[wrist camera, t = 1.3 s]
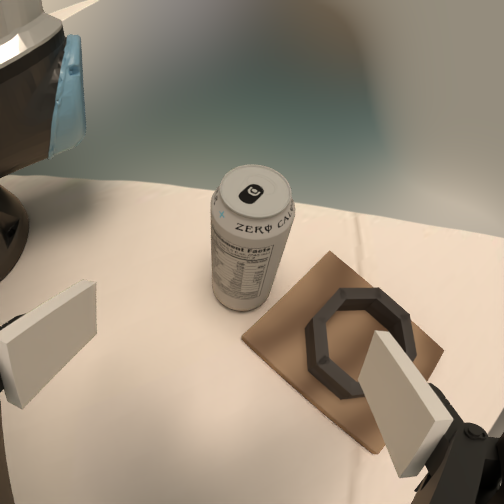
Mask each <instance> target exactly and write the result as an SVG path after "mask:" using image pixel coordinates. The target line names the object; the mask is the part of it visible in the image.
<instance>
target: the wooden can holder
mask: <svg viewBox="0 0 504 504" xmlns="http://www.w3.org/2000/svg"><path fill="white" fill-rule="evenodd" d="M375 330H377V331H386V332H390V334H391V335H392V336H393V338H394V339H395V340H396V341H397V343H398V344H399V345H400V347H401V348H402V349H403V351H404V352H405V353H406V355H407V356H408V357H409V358H410V360H411V361H412V362H413V364H414V365H415V366H416V368H417V369H418V370H419V372H420V373H421V375H422V376H423V377H424V379H425V380H426V381H428V379H429V377H430V376H431V374H432V372H433V370H434V369H435V367H436V365H437V363H438V361H439V359H440V358H441V356H442V354H443V352H444V350H443V349H442V348H441V347H440V346H439V345H438V344H437V343H436V342H435V341H433V340H432V339H431V338H430V337H429V336H428V335H427V334H426V333H425V332H424V331H422V330H421V329H420V328H419V327H418V326H417V325H416V324H415V323H414V322H412V321H411V319H410V314H409V313H407V312H406V311H405V310H404V309H403V308H402V307H401V306H399V305H398V304H397V303H396V302H395V301H394V300H393V299H391V298H390V297H389V296H388V295H387V294H386V293H385V292H383V291H382V290H381V289H380V288H379V287H378V288H374V287H372V286H371V285H370V284H369V283H368V282H367V281H365V280H364V279H363V278H362V277H361V276H360V275H358V274H357V273H356V272H355V271H354V270H352V269H351V268H350V267H349V266H348V265H346V264H345V263H344V262H343V261H342V260H340V259H339V258H338V257H337V256H336V255H334V254H333V253H332V252H331V251H329V252H328V253H327V254H326V255H325V256H324V257H323V258H322V259H321V260H320V261H319V262H318V263H317V264H316V265H315V266H314V267H313V268H312V269H311V270H310V271H309V272H308V273H307V274H306V275H305V276H304V277H303V278H302V279H301V280H300V281H299V282H298V283H297V284H296V285H295V286H294V287H293V288H292V289H291V290H290V291H289V292H288V293H286V294H285V295H284V296H283V297H282V298H281V299H280V300H279V301H278V302H277V303H276V304H275V305H274V306H273V307H272V308H271V309H270V310H269V311H268V312H267V313H266V314H265V315H264V316H263V317H261V318H260V319H259V320H258V321H257V322H256V323H255V324H254V325H253V326H252V327H251V328H250V329H249V330H248V331H247V332H246V333H244V334H243V335H242V338H241V339H242V340H243V341H244V342H245V343H246V344H247V345H248V346H249V347H250V348H251V349H252V350H253V351H254V352H255V353H256V354H257V355H259V356H260V357H261V358H262V359H263V360H264V361H265V362H266V363H267V364H268V365H269V366H270V367H271V368H273V369H274V370H275V371H276V372H277V373H278V374H279V375H280V376H281V377H282V378H284V379H285V380H286V381H287V382H288V383H289V384H290V385H291V386H292V387H294V388H295V389H296V390H297V391H298V392H299V393H300V394H302V395H303V396H304V397H305V398H306V399H307V400H308V401H310V402H311V403H312V404H313V405H314V406H315V407H316V408H318V409H319V410H320V411H321V412H322V413H324V414H325V415H326V416H327V417H328V418H329V419H331V420H332V421H333V422H334V423H335V424H337V425H338V426H339V427H340V428H341V429H343V430H344V431H345V432H346V433H347V434H349V435H350V436H351V437H352V438H354V439H355V440H356V441H357V442H359V443H360V444H361V445H362V446H364V447H365V448H366V449H367V450H369V451H370V452H371V453H372V454H379V453H380V451H381V450H382V449H383V447H384V446H385V445H386V444H385V442H384V440H383V437H382V435H381V432H380V430H379V428H378V425H377V423H376V420H375V418H374V416H373V413H372V411H371V409H370V406H369V404H368V402H367V399H366V397H365V395H364V392H363V390H362V388H361V385H360V383H359V381H358V378H359V375H360V372H361V369H362V367H363V364H364V361H365V358H366V355H367V352H368V349H369V347H370V344H371V341H372V337H373V334H374V331H375Z"/></svg>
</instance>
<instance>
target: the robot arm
mask: <svg viewBox="0 0 504 504" xmlns="http://www.w3.org/2000/svg"><path fill="white" fill-rule="evenodd" d="M82 69H83V68H82V49H81V37H80V36H78V35H72V34H70V35H68V36H67V37H65V36H64V31H63V25H62V21H61V20H60V19H57V18H55V17H53V16H51V15H48V14H46V13H45V12H44V10H43V7H42V1H41V0H0V178H2V177H4V176H6V175H8V174H10V173H13V172H15V171H17V170H19V169H22V168H24V167H26V166H29V165H31V164H34V163H36V162H38V161H41V160H44V159H46V158H48V160H50V159H52V158H53V156H54V155H57V154H59V153H61V152H64V151H66V150H69V149H71V148H74V147H75V146H77V145H78V144H79V143H81V141H82V140H83V138H84V136H85V133H86V117H85V116H86V115H85V102H84V88H83V70H82ZM28 231H29V219H28V215H27V212H26V210H25V209H24V207H23V205H22V204H21V202H20V201H19V199H18V198H17V197H16V196H15V195H14V194H12V193H11V192H9V191H8V190H7V189H5V188H4V187H3V186H1V185H0V280H2V279H3V278H4V277H5V276H6V275H7V274H8V272H9V271H10V270H11V269H12V268H13V266H14V265H15V263H16V262H17V260H18V259H19V257H20V255H21V253H22V251H23V249H24V246H25V243H26V240H27V236H28ZM96 334H97V323H96V282H92V281H88V280H84V279H82V280H81V281H79V282H77V283H76V284H74V285H72V286H71V287H69V288H67V289H66V290H64V291H62V292H61V293H59V294H57V295H56V296H54V297H52V298H51V299H49V300H48V301H46V302H44V303H43V304H41V305H39V306H38V307H36V308H35V309H33V310H31V311H30V312H28V313H26V314H23V315H19V316H16V317H14V318H13V319H11V320H10V321H8V323H5V324H3V325H2V327H1V326H0V392H1V391H2V390H3V389H4V391H5V394H6V398H7V401H8V402H9V403H11V404H13V405H15V406H17V407H19V408H21V409H23V408H24V407H25V406H26V405H27V404H28V403H29V402H30V401H31V400H32V399H33V398H34V397H35V396H36V395H37V394H38V393H39V392H40V390H41V389H42V388H43V387H44V386H45V385H46V384H47V383H48V382H49V381H50V380H51V379H52V378H53V377H54V376H55V375H56V374H57V373H58V372H59V371H60V370H61V369H62V368H63V367H64V366H65V365H66V364H67V363H68V362H69V361H70V360H71V359H72V358H73V357H74V356H75V355H76V354H77V353H78V352H79V351H80V350H81V349H82V348H83V347H84V346H85V345H86V344H87V343H88V342H89V341H90V340H91V339H92V338H93V337H94V336H95V335H96ZM358 381H359V383H360V385H361V388H362V390H363V392H364V395H365V397H366V399H367V402H368V404H369V406H370V409H371V411H372V413H373V416H374V418H375V420H376V423H377V425H378V428H379V430H380V432H381V435H382V437H383V440H384V442H385V444H386V447H387V449H388V452H389V454H390V457H391V459H392V462H393V464H394V467H395V469H396V472H397V474H398V477H399V478H405V477H413V476H417V475H418V474H419V472H420V471H421V470H422V468H423V467H424V465H425V466H426V468H427V470H428V473H427V475H426V476H425V477H424V479H423V480H422V481H421V483H420V484H419V485H418V487H417V488H416V489H415V490H414V491H415V492H417V493H416V495H415V497H414V499H413V501H412V503H411V504H504V433H503V434H502V436H501V437H500V438H494V437H488V435H487V433H486V431H485V430H484V429H483V428H481V427H480V426H478V425H476V424H473V423H464V422H463V420H462V419H461V418H460V416H459V415H458V413H457V412H456V411H455V409H454V408H453V407H452V405H450V403H449V401H448V400H447V399H445V398H446V397H445V396H444V395H443V393H442V392H441V391H440V389H438V388H437V387H436V386H434V385H433V384H432V383H427V381H426V380H425V379H424V377H423V376H422V375H421V373H420V372H419V370H418V369H417V368H416V366H415V365H414V364H413V362H412V361H411V360H410V358H409V357H408V356H407V355H406V353H405V352H404V351H403V349H402V348H401V347H400V345H399V344H398V343H397V341H396V340H395V339H394V338H393V336H392V335H391V334H390V332H386V331H377V330H375V331H374V334H373V337H372V341H371V344H370V347H369V349H368V352H367V355H366V358H365V361H364V364H363V367H362V369H361V372H360V375H359V378H358ZM501 482H502V483H501ZM500 483H501V486H500ZM0 504H15V503H14V499H13V494H12V489H11V484H10V479H9V474H8V468H7V462H6V455H5V447H4V439H3V429H2V417H1V401H0Z"/></svg>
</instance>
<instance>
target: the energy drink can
mask: <svg viewBox="0 0 504 504" xmlns="http://www.w3.org/2000/svg"><path fill="white" fill-rule="evenodd" d="M294 217H295V205H294V201H293V199H292V197H291V187H290V185H289V183H288V181H287V180H286V179H285V177H283V176H282V175H281V174H280V173H279V172H277V171H276V170H273V169H271V168H269V167H266V166H262V165H243V166H239V167H236V168H234V169H232V170H231V171H229V172H228V173H227V174H226V175H225V176H224V177H223V179H222V180H221V183H220V186H219V187H218V188H217V189H216V191H215V192H214V194H213V196H212V199H211V256H212V287H213V291H214V293H215V296H216V297H217V299H218V300H219V301H220V302H221V303H222V304H223V305H225V306H227V307H228V308H231V309H233V310H239V311H247V310H252V309H254V308H257V307H258V306H260V305H261V304H263V303H264V302H265V300H266V299H267V297H268V296H269V293H270V290H271V287H272V284H273V281H274V278H275V275H276V272H277V269H278V266H279V263H280V260H281V257H282V254H283V251H284V248H285V245H286V242H287V239H288V236H289V233H290V229H291V226H292V223H293V220H294Z"/></svg>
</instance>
